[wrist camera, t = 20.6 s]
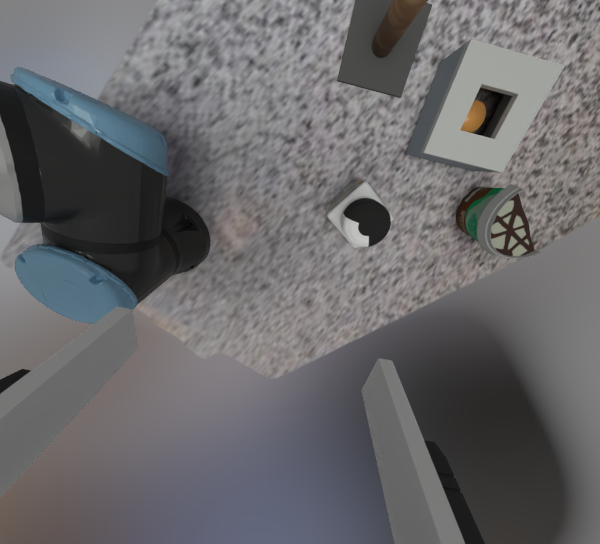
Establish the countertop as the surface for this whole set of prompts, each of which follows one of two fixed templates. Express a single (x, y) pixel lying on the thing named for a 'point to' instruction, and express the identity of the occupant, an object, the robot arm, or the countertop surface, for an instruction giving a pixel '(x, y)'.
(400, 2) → the stylus
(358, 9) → the pad
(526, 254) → the food container
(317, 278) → the countertop surface
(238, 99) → the countertop surface
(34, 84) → the robot arm
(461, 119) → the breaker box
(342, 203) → the container
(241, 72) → the countertop surface
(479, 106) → the button
